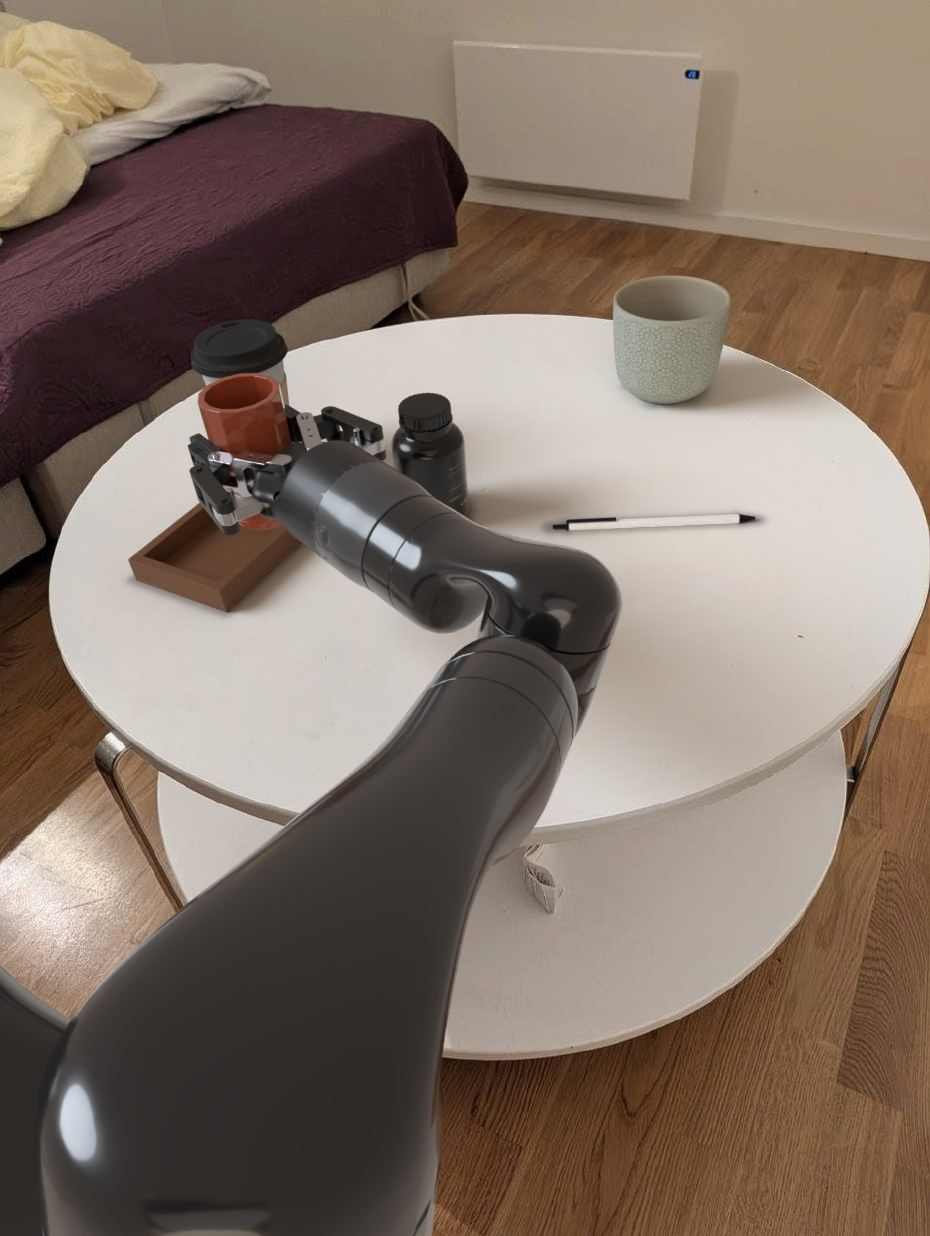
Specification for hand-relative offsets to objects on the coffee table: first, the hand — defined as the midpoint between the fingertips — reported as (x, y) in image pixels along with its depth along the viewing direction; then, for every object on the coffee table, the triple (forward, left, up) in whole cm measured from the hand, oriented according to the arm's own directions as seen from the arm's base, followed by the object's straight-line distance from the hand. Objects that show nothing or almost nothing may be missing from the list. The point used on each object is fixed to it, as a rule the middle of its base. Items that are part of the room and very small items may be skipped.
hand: (235, 429), depth 70 cm
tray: (+4, +10, -18) cm, 21 cm away
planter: (+50, -17, -18) cm, 56 cm away
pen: (+25, -25, -18) cm, 40 cm away
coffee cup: (+18, +16, -18) cm, 30 cm away
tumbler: (-1, -2, -6) cm, 6 cm away
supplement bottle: (+18, -5, -18) cm, 26 cm away
